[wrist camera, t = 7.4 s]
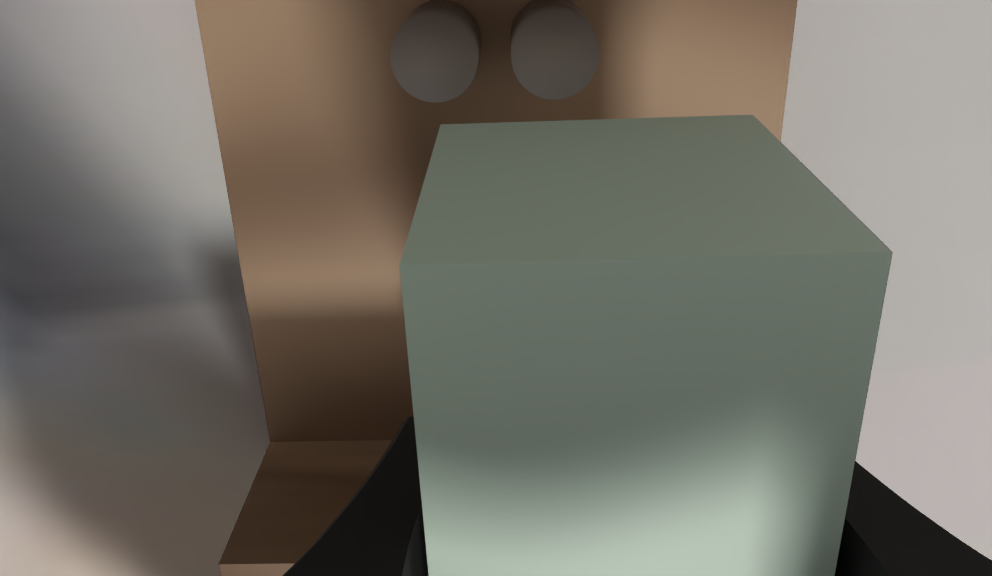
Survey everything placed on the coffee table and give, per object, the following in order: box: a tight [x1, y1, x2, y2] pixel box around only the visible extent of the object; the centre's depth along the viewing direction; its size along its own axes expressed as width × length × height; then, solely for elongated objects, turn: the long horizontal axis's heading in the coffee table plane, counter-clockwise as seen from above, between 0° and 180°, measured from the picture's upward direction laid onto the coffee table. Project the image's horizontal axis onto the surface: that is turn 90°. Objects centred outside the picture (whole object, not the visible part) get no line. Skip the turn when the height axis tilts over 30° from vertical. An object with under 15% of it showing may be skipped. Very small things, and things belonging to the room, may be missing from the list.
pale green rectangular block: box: [399, 115, 892, 576], centre depth 12 cm, size 10×4×5 cm, turn 2°
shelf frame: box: [195, 0, 797, 576], centre depth 18 cm, size 15×12×6 cm
